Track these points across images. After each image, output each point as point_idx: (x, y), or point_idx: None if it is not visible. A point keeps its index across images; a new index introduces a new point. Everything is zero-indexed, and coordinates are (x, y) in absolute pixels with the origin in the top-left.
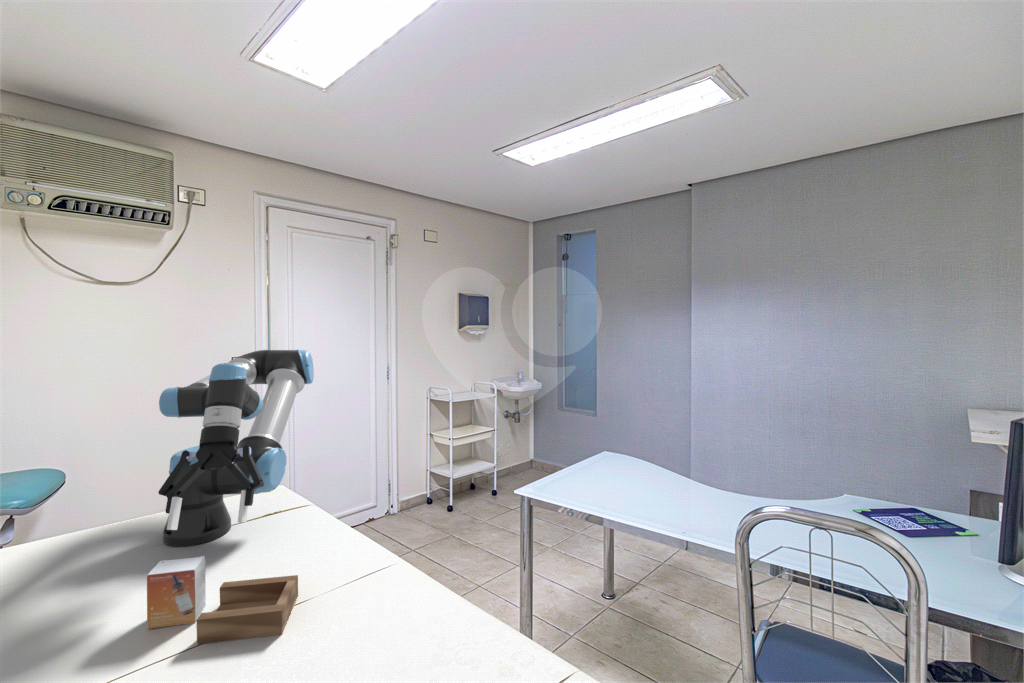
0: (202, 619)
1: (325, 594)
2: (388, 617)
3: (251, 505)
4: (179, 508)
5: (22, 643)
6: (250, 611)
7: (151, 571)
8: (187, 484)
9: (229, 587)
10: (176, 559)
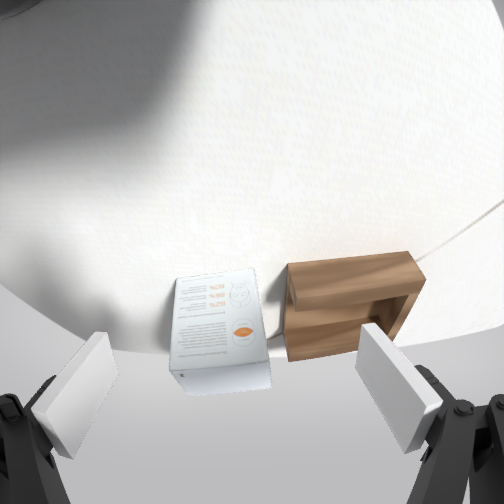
0: (296, 360)
1: (440, 249)
2: (473, 290)
3: (419, 366)
4: (73, 389)
5: (51, 313)
6: (356, 348)
7: (187, 391)
8: (54, 493)
9: (313, 308)
10: (204, 368)
